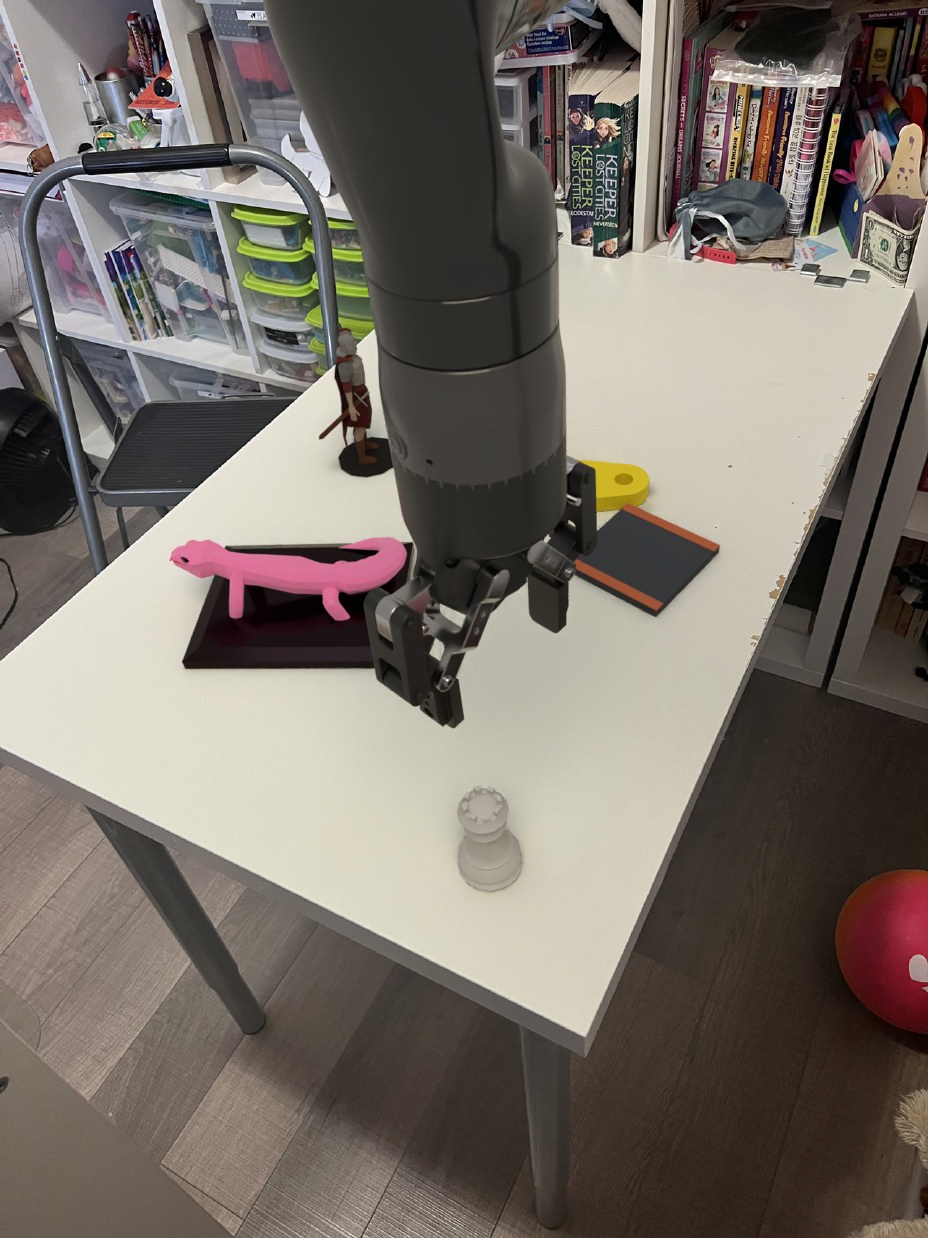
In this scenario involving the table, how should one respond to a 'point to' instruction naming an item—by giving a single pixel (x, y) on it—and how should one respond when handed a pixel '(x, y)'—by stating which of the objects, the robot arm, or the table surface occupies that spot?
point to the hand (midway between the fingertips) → (499, 668)
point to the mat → (644, 559)
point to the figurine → (356, 414)
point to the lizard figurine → (289, 602)
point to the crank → (618, 484)
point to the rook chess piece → (487, 841)
